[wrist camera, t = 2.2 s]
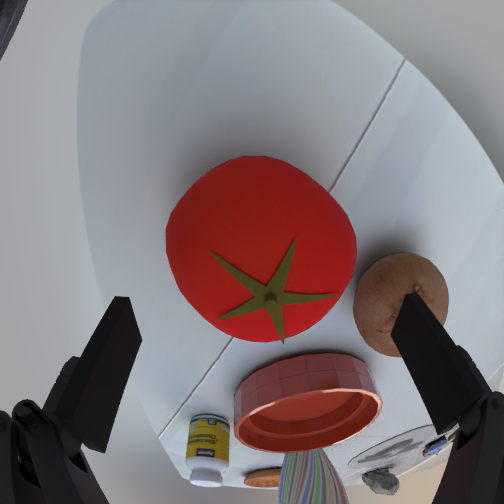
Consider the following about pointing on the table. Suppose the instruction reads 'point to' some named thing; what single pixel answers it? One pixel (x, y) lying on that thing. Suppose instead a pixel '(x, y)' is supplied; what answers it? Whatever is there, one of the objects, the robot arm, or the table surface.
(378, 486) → the rock
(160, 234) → the table surface
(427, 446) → the toy car
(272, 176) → the tomato
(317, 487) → the vase
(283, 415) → the red bowl
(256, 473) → the saucer
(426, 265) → the onion
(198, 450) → the pill bottle
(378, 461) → the plate
